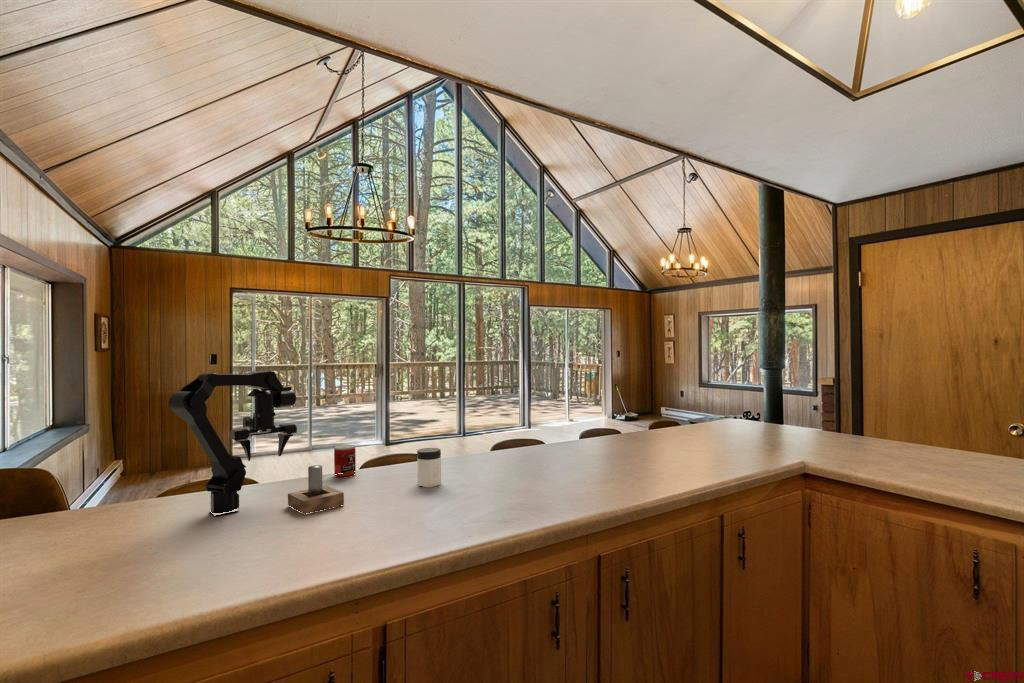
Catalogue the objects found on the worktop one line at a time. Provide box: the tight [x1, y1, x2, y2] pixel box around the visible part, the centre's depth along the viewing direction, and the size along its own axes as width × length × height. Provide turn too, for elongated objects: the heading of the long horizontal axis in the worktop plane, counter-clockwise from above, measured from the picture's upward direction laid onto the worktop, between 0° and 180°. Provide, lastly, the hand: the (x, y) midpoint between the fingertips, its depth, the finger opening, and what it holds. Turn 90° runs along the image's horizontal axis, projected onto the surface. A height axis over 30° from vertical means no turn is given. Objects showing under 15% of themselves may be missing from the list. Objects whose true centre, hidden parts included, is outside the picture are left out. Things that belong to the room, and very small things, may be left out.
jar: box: [416, 447, 442, 488], centre depth 174 cm, size 9×8×12 cm
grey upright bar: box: [307, 464, 324, 497], centre depth 151 cm, size 4×4×12 cm
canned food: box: [333, 444, 357, 479], centre depth 189 cm, size 8×8×11 cm
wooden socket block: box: [287, 485, 345, 514], centre depth 151 cm, size 12×12×4 cm
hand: (264, 458), depth 159 cm, fingers open, 9 cm apart
